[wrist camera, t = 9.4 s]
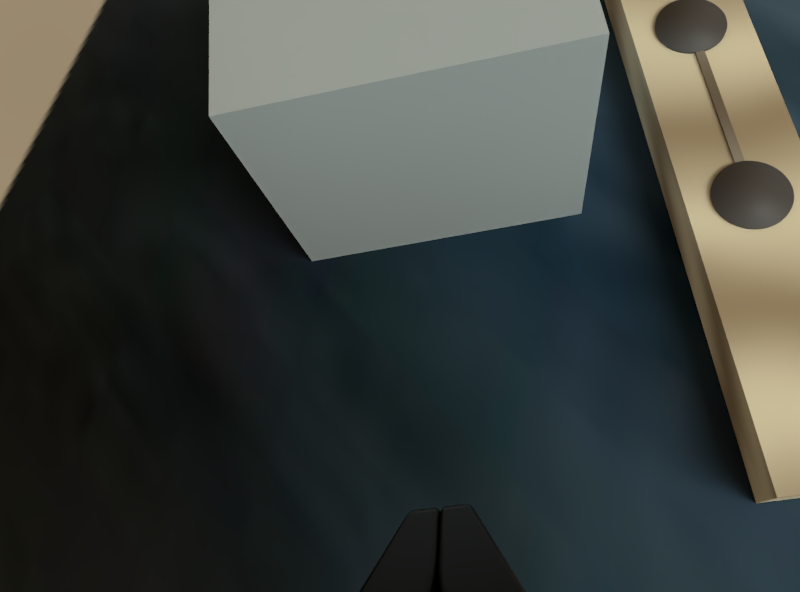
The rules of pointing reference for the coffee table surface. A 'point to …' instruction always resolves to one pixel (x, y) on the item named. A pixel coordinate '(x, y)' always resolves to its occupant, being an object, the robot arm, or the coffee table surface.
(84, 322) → the coffee table surface
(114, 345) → the coffee table surface
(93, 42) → the coffee table surface
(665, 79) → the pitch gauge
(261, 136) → the block
